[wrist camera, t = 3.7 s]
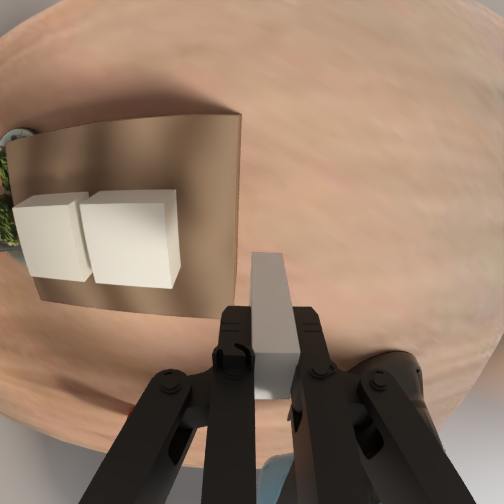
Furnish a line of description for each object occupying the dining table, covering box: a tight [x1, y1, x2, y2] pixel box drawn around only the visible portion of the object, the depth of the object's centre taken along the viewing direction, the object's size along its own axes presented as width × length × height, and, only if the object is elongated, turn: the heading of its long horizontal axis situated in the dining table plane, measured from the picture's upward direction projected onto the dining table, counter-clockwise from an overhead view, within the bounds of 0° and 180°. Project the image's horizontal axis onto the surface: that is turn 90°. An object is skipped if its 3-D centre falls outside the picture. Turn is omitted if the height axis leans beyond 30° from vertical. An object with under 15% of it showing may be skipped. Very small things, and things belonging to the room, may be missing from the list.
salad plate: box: [0, 127, 38, 266], centre depth 27 cm, size 19×18×5 cm
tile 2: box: [12, 192, 93, 282], centre depth 19 cm, size 6×6×3 cm
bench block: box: [5, 114, 242, 319], centre depth 24 cm, size 20×16×9 cm
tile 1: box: [79, 189, 181, 289], centre depth 19 cm, size 6×6×3 cm
